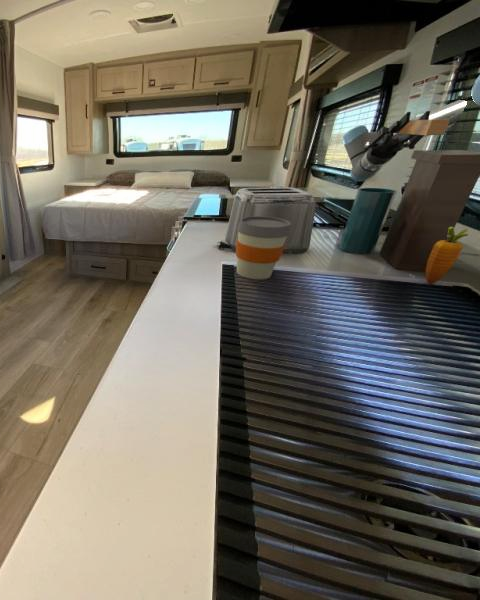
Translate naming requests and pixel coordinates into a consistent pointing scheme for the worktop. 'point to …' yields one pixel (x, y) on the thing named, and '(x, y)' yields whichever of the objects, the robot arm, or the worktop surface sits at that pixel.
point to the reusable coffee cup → (260, 245)
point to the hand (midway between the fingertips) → (417, 116)
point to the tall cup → (366, 220)
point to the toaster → (275, 214)
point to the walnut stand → (430, 205)
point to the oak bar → (425, 127)
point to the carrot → (443, 256)
